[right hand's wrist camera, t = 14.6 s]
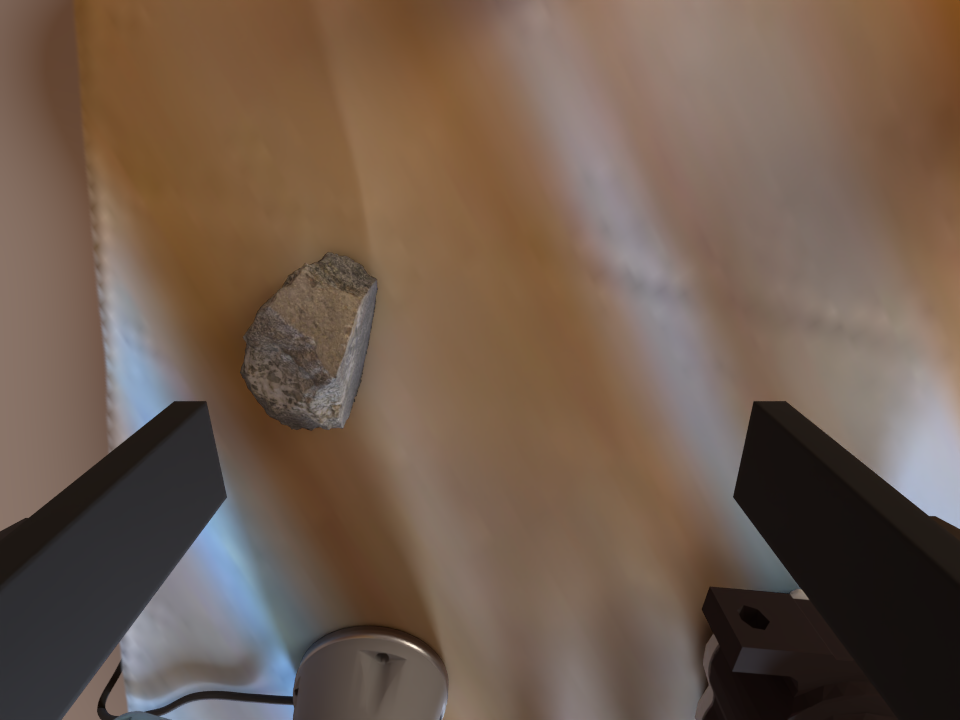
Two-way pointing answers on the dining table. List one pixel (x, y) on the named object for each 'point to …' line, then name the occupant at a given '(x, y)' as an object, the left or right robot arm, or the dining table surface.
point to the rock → (312, 344)
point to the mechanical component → (779, 662)
